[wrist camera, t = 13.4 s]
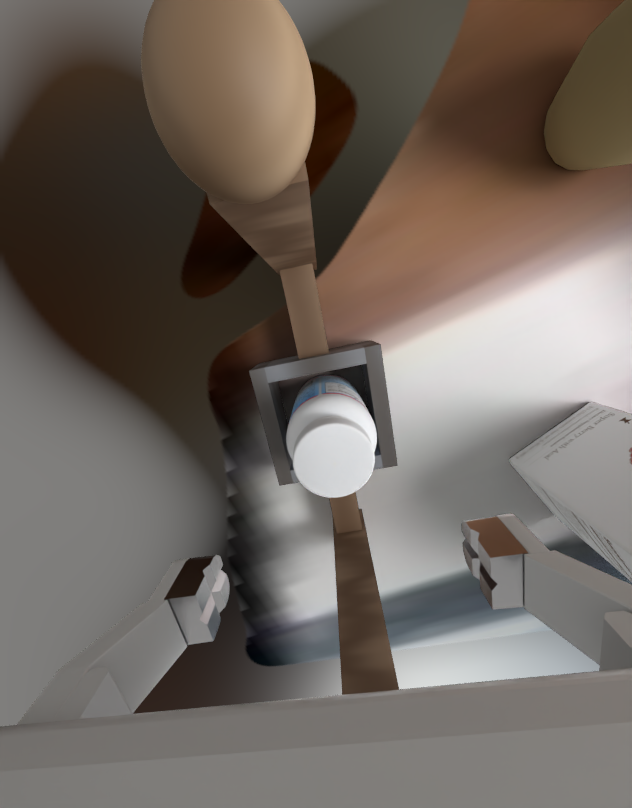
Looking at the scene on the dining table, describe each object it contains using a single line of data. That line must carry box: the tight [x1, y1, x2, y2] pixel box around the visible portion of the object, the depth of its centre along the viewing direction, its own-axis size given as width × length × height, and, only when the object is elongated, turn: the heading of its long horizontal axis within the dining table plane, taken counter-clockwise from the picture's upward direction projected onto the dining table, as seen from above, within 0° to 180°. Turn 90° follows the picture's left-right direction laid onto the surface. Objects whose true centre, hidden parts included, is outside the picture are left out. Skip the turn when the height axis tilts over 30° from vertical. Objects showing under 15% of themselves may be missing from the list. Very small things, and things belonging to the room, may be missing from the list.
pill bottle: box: [286, 375, 377, 498], centre depth 22 cm, size 6×6×11 cm
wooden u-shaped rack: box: [141, 0, 399, 695], centre depth 18 cm, size 10×30×19 cm, turn 11°
